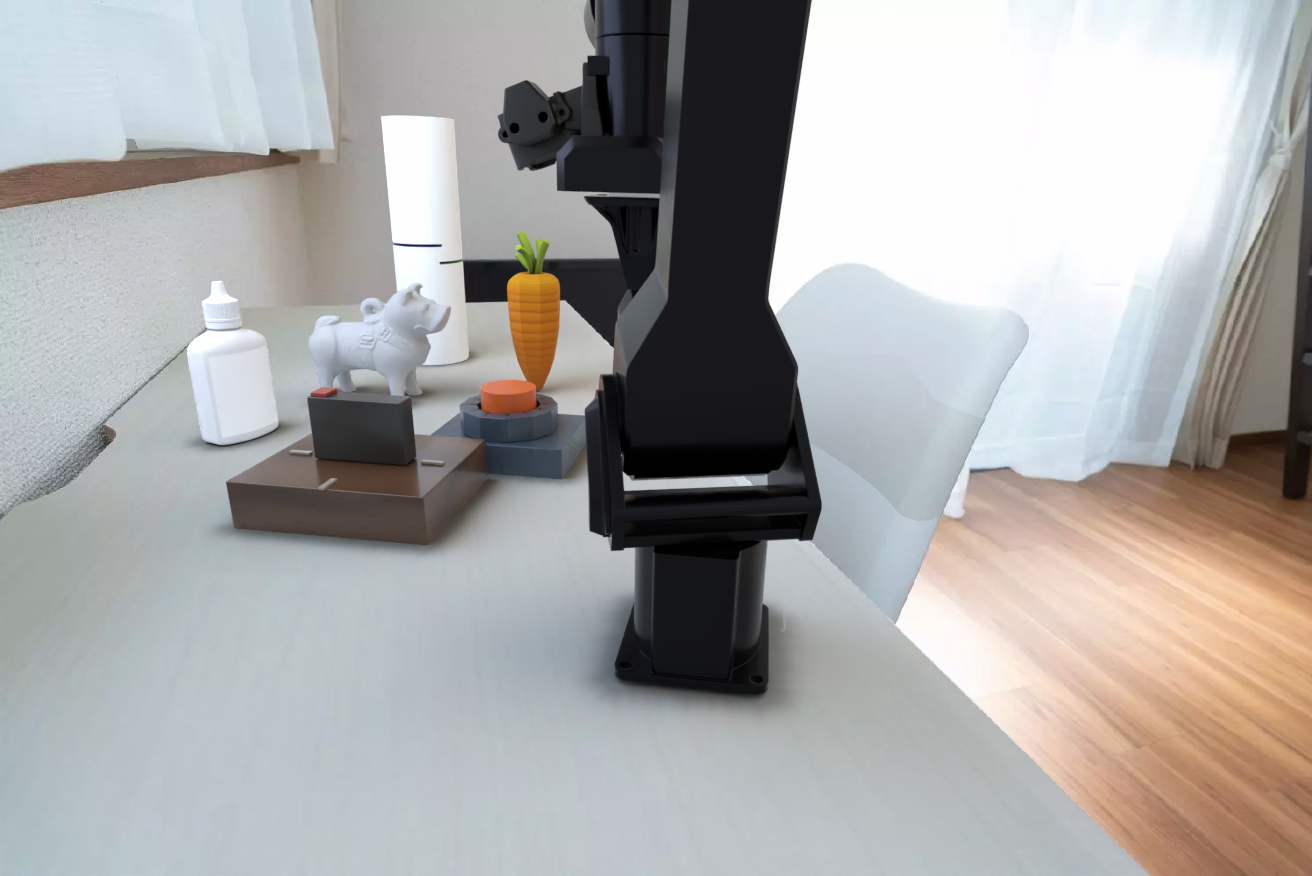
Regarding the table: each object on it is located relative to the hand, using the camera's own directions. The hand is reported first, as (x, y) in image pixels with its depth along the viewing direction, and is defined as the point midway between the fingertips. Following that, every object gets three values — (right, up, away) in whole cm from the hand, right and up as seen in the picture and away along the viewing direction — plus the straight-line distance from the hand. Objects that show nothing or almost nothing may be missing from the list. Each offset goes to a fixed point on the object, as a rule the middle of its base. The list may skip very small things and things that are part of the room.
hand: (639, 306), depth 50 cm
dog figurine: (-24, -5, +20) cm, 32 cm away
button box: (-10, -10, +7) cm, 16 cm away
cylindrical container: (-24, 0, +36) cm, 43 cm away
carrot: (-10, -4, +23) cm, 26 cm away
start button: (-10, -7, +6) cm, 13 cm away
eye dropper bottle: (-32, -9, +10) cm, 34 cm away
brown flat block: (-17, -13, -2) cm, 21 cm away
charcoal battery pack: (-17, -10, -3) cm, 20 cm away
